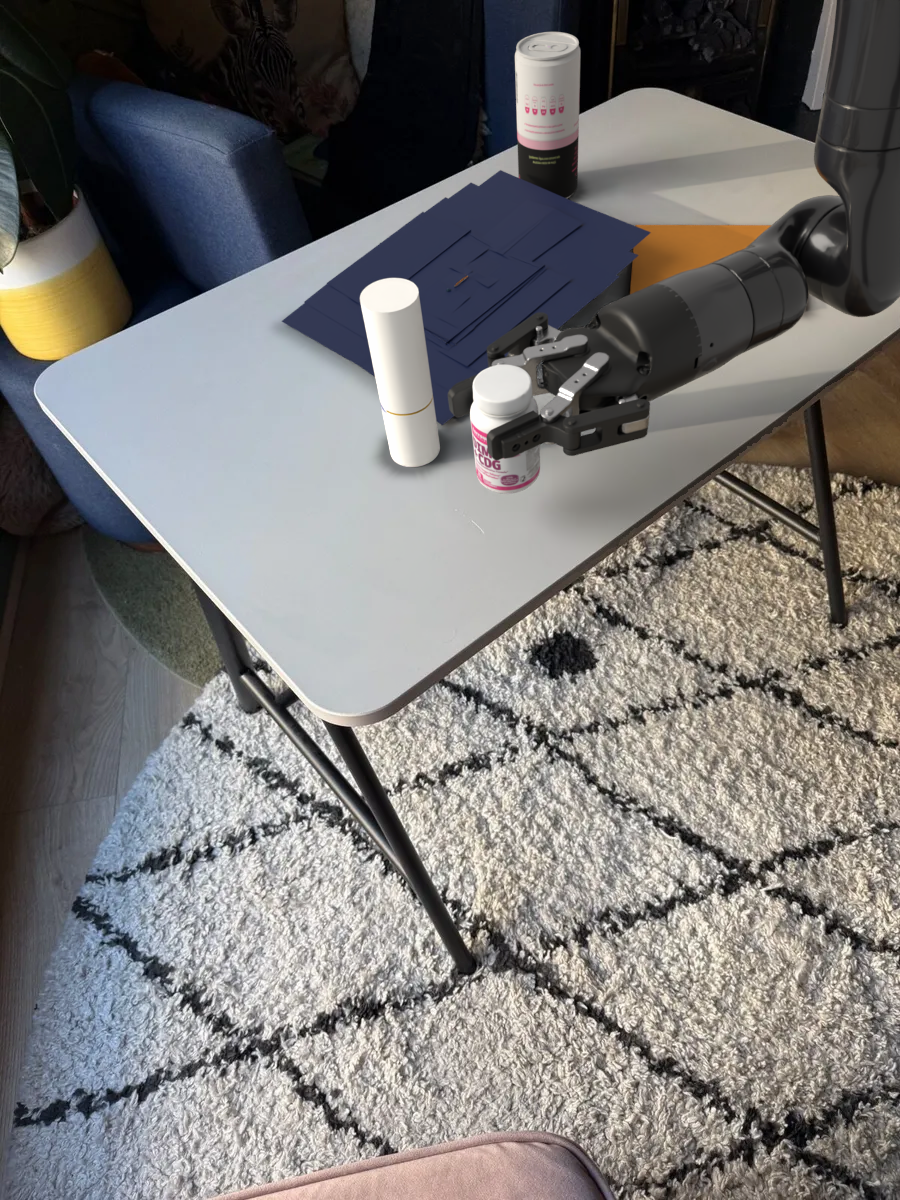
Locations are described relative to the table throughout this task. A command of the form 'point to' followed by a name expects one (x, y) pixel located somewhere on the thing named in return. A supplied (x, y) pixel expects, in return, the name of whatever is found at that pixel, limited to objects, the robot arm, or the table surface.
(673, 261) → the amber mat
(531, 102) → the beverage can
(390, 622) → the table surface
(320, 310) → the papers
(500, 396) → the pill bottle
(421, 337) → the tube
